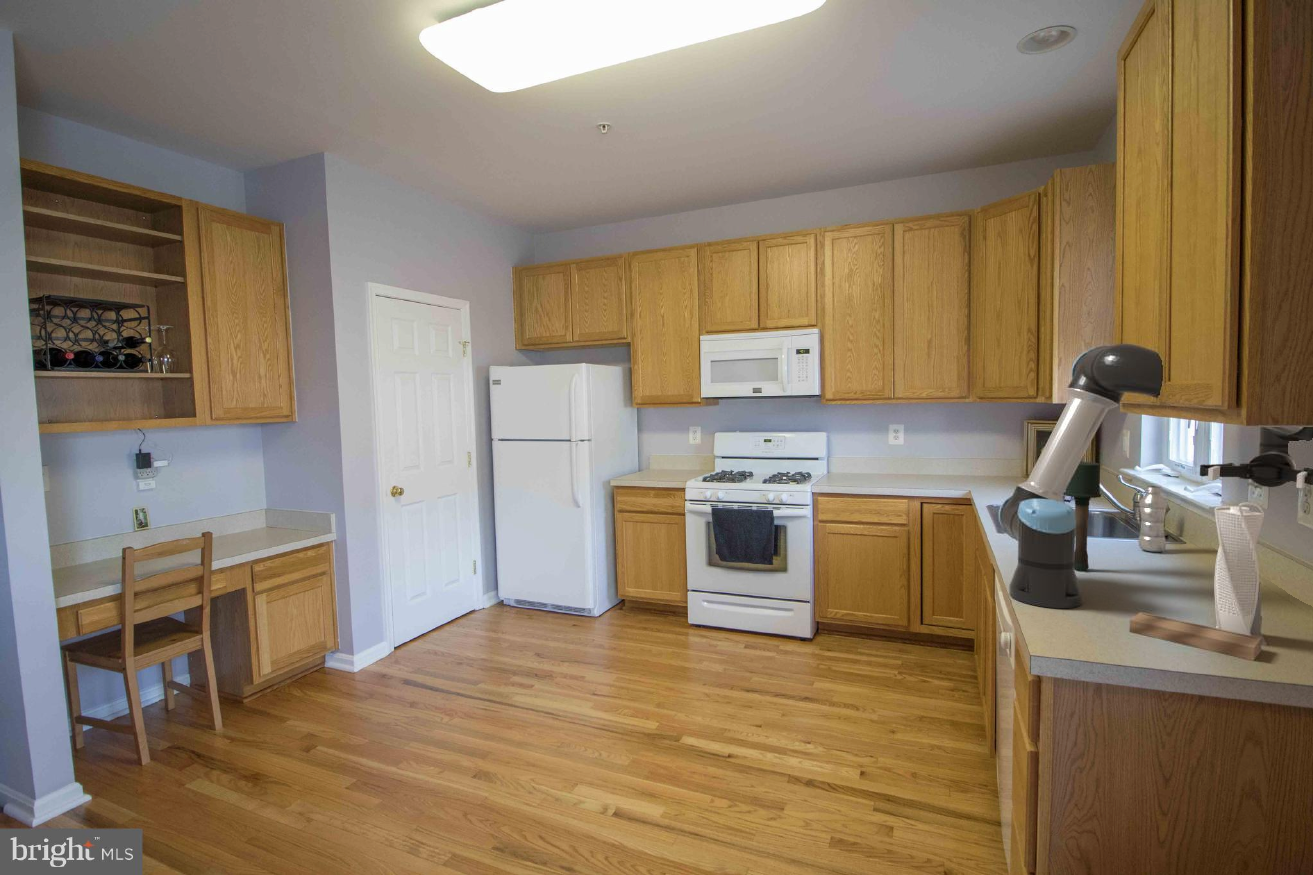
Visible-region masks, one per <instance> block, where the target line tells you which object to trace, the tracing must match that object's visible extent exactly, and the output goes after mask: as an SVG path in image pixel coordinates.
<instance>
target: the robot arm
mask: <svg viewBox="0 0 1313 875" xmlns="http://www.w3.org/2000/svg"><path fill="white" fill-rule="evenodd" d="M1157 352H1158V351H1157ZM1157 352H1156V350H1153V349H1150V348H1147V347H1144V346H1142V345H1137V344H1132V343H1117V344H1113V345H1112V344H1111V345H1101V346H1096V347H1093V348H1091V349H1089V350H1086V351H1085V352H1083V353H1082V354H1080V355H1079V356H1078V357H1077V358H1076V359H1075V360H1074V362H1073V363H1072V367H1071V372H1070V373H1071V374H1070V376H1071V381H1070V382H1069V384H1068V386H1067V388H1066V391H1067V393H1068V395H1069V399H1068V401H1067V402H1066V405H1065V406H1064V408H1063V411H1062V412H1061V414H1060V417H1059V418H1058V420H1057V423H1056V424H1055V426H1054V428H1053V429H1052V432H1051V434H1050V436H1049V438H1048V440H1047V442H1046V443H1045V445H1044V447H1043V450H1042V452H1041V453H1040V455H1039V457H1038V459H1037V461H1036V463H1035V465H1034V466H1033V469H1032V471H1031V473H1030V475H1028V476H1029V477H1028V478H1027V480H1026V481H1024V482H1022V483H1018V484H1017V485H1016V488H1015V489H1014V491H1013V493H1012V495H1011V496H1009V497H1008V498H1006V499H1005V500H1004V501H1003V502H1002V503H1001V505H1000V507H999V510H998V515H997V516H998V521H999V524H1000V525H1001V528H1002V529H1003V531H1004V532H1005V534H1007V535H1008V536H1009V537H1011V538H1012V539H1013V540H1015V541H1017V565H1016V568H1015V570H1014V573H1013V575H1012V577H1011V578H1012V579H1011V581H1010V583H1009V589H1008V590H1009V593H1008V594H1009V596H1010V597H1011V598H1013V599H1014V600H1016V601H1019V602H1021V603H1025V604H1027V605H1031V606H1037V607H1043V608H1051V609H1052V608H1053V609H1072V608H1073V609H1074V608H1076V607H1081V606H1082V605H1083V595H1084V594H1083V592H1082V588H1081V585H1080V583H1079V581H1078V578H1077V574H1076V570H1075V569H1074V557H1075V540H1076V518H1075V508H1073V507H1072V506H1071V505H1069V504H1068V503H1066V502H1065V500H1064V497H1063V496H1064V492H1065V491H1066V488H1067V486H1068V484H1069V482H1070V480H1071V478H1072V476H1073V475H1074V473H1075V471H1076V469H1077V467H1078V465H1079V463H1080V462H1082V459H1083V457H1084V456H1085V453H1086V451H1087V449H1089V446H1090V444H1091V443H1092V440H1093V439H1094V436H1095V434H1096V432H1097V430H1098V429H1099V427H1100V425H1101V423H1102V422H1103V420H1104V417H1105V416H1106V414H1107V412H1108V410H1111V409H1115V408H1116V407H1118V406H1119V405H1120V403H1121V401H1122V399H1123V397H1124V396H1125V395H1126V394H1127V393H1129V394H1139V395H1145V396H1148V397H1153V398H1156V399H1158V396H1159V395H1160V390H1161V387H1162V381H1163V365H1162V360H1161V358H1160V356H1159V354H1158V353H1157ZM1259 427H1260V426H1259ZM1312 438H1313V427H1260V429H1259V446H1258V455H1257V456H1255V457H1254V458H1252V459H1251V460H1250V461H1249V462H1247V463H1240V464H1239V465H1236V464H1235V463H1233V462H1228V463H1218V464H1217V463H1214V464H1203V463H1202V464H1200V465H1199V476H1200V477H1207V481H1208V482H1214V481H1217V480H1219V479H1220V478H1239V479H1243V480H1251V481H1252V482H1253V483H1255V484H1256V485H1259V486H1262V487H1264V488H1265V487H1266V488H1275V487H1280V486H1283V485H1285V484H1286V483H1290V482H1293V483H1294V482H1295V483H1296V487H1295V488H1297V489H1303V488H1305V487H1306V486H1307V485H1309V486H1313V468H1310V467H1304V469H1300V470H1296V464H1295V462H1294V460H1293V459H1292V457H1291V456H1290V455H1289V454H1288V443H1289V441H1299V440H1306V441H1310V440H1312Z"/></svg>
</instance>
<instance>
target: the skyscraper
mask: <svg viewBox="0 0 1313 875" xmlns="http://www.w3.org/2000/svg"><path fill="white" fill-rule="evenodd" d="M1245 505H1246V506H1254V507H1256V508H1258V509H1259V511H1260V512H1256V511H1250V508H1249V507H1245ZM1228 508H1229V509H1228ZM1213 510H1214V516H1215V525H1216V532H1217V536H1218V537H1217V538H1218V542H1219V546H1218V550H1217V554H1216V560H1215V565H1214V580H1213V581H1214V589H1213V590H1214V605H1215V617H1216V624H1215V625H1214V628H1218V629H1222V630H1227V631H1232V632H1236V633H1241V634H1246V635H1251V636H1255V637H1260V638H1262V640H1261V646H1267V641H1266V639H1265V638H1264V636H1263V634H1262V623H1263V617H1262V601H1263V595H1262V594H1260V592H1261V581H1260V572H1259V570H1260V568H1259V562H1258V557H1257V551H1256V545H1257V543H1258V539H1259V535H1260V533H1261V530H1262V525H1263V522H1264V518H1265V512H1264V510H1263V509H1262V507H1261V506H1260V505H1259V504H1258V503H1255V502H1250V501H1249V502H1248V501H1245V502H1240V503H1239V504H1238V505H1237V506H1235V505H1218V506H1216V507H1215V508H1214V509H1213Z"/></svg>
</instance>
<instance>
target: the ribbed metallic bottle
mask: <svg viewBox="0 0 1313 875" xmlns="http://www.w3.org/2000/svg"><path fill="white" fill-rule="evenodd" d="M1144 492H1145V493H1146V494H1144V495H1143V497H1142V498H1141V499H1140V500H1139V504H1138V505H1139V510H1140V511H1139V512H1140V520H1141V524H1140V525H1141V526H1140V532H1139V533H1140V534H1139V537H1138V541H1137V542H1138V546H1139V548H1140V549H1141V550H1143V551H1147V552H1150V553H1160V552H1164V551H1165V549H1166V546H1167V542H1166V537H1165V526H1164V525H1165V523H1164V522H1165V516H1166V512H1167V511H1166V510H1167V507H1168V506H1167V505H1168V504H1167V502H1166V500H1165V499H1164V497H1163V496H1162V495H1161V494H1162V493H1163V492H1162V486H1158V485H1157V486H1156V485H1146V486H1145V490H1144Z"/></svg>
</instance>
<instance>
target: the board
mask: <svg viewBox="0 0 1313 875" xmlns="http://www.w3.org/2000/svg"><path fill="white" fill-rule="evenodd" d="M1128 630H1129V632H1130V633H1133V634H1138V635H1143V636H1146V637H1151V638H1154V639H1160V640H1164V641H1166V642H1167V641H1168V642H1173V643H1175V644H1176V643H1177V644H1181V645H1183V646H1184V645H1185V646H1189V647H1193V648H1198V649H1203V650H1206V651H1210V652H1215V653H1218V654H1223V655H1228V656H1232V657H1237V658H1241V659H1244V660H1249V661H1255V659H1256V658H1257V657H1258V655H1259V654H1260V653H1261V651H1262V645H1261V640H1262V638H1260V637H1255V636H1251V635H1246V634H1241V633H1236V632H1232V631H1227V630H1222V629H1218V628H1215V627H1213V626H1207V625H1202V624H1197V623H1195V622H1188V621H1183V620H1179V619H1173V618H1170V617H1165V616H1160V615H1156V614H1150V613H1146V612H1141V611H1140V612H1138V613H1137V614H1136V615H1135V616H1133V617H1131V619H1129V628H1128Z"/></svg>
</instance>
